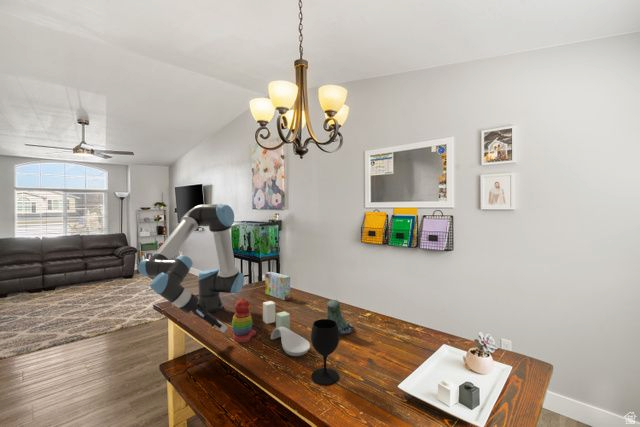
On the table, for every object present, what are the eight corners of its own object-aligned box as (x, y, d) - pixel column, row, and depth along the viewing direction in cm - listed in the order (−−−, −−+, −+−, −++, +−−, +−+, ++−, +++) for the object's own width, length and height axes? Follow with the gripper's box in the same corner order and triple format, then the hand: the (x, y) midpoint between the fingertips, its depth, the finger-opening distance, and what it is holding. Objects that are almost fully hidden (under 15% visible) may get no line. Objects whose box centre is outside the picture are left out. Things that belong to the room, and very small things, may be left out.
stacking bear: (248, 343, 135) (247, 304, 134) (227, 341, 137) (227, 303, 136) (257, 332, 145) (257, 297, 145) (238, 331, 148) (238, 295, 147)
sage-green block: (276, 333, 145) (275, 313, 144) (285, 330, 148) (284, 311, 147) (280, 337, 141) (280, 316, 140) (289, 334, 144) (289, 314, 143)
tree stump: (360, 326, 155) (359, 295, 150) (345, 351, 138) (344, 318, 133) (328, 317, 163) (326, 289, 158) (311, 341, 146) (308, 309, 141)
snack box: (290, 298, 196) (290, 276, 195) (284, 301, 192) (284, 278, 191) (271, 292, 210) (271, 271, 209) (264, 293, 206) (264, 272, 205)
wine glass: (310, 369, 114) (310, 318, 113) (336, 368, 115) (337, 317, 114) (311, 386, 104) (311, 330, 103) (341, 384, 105) (341, 329, 104)
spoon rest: (315, 354, 126) (315, 337, 126) (293, 364, 118) (293, 346, 118) (284, 334, 144) (284, 320, 144) (263, 342, 136) (263, 327, 136)
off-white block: (262, 320, 160) (262, 302, 160) (271, 318, 163) (271, 300, 163) (266, 323, 156) (266, 305, 156) (275, 321, 159) (275, 303, 158)
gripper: (176, 303, 130) (215, 331, 140) (181, 313, 119) (223, 342, 129) (189, 289, 133) (226, 318, 143) (195, 297, 122) (235, 327, 132)
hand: (225, 329), depth 136 cm, fingers closed
